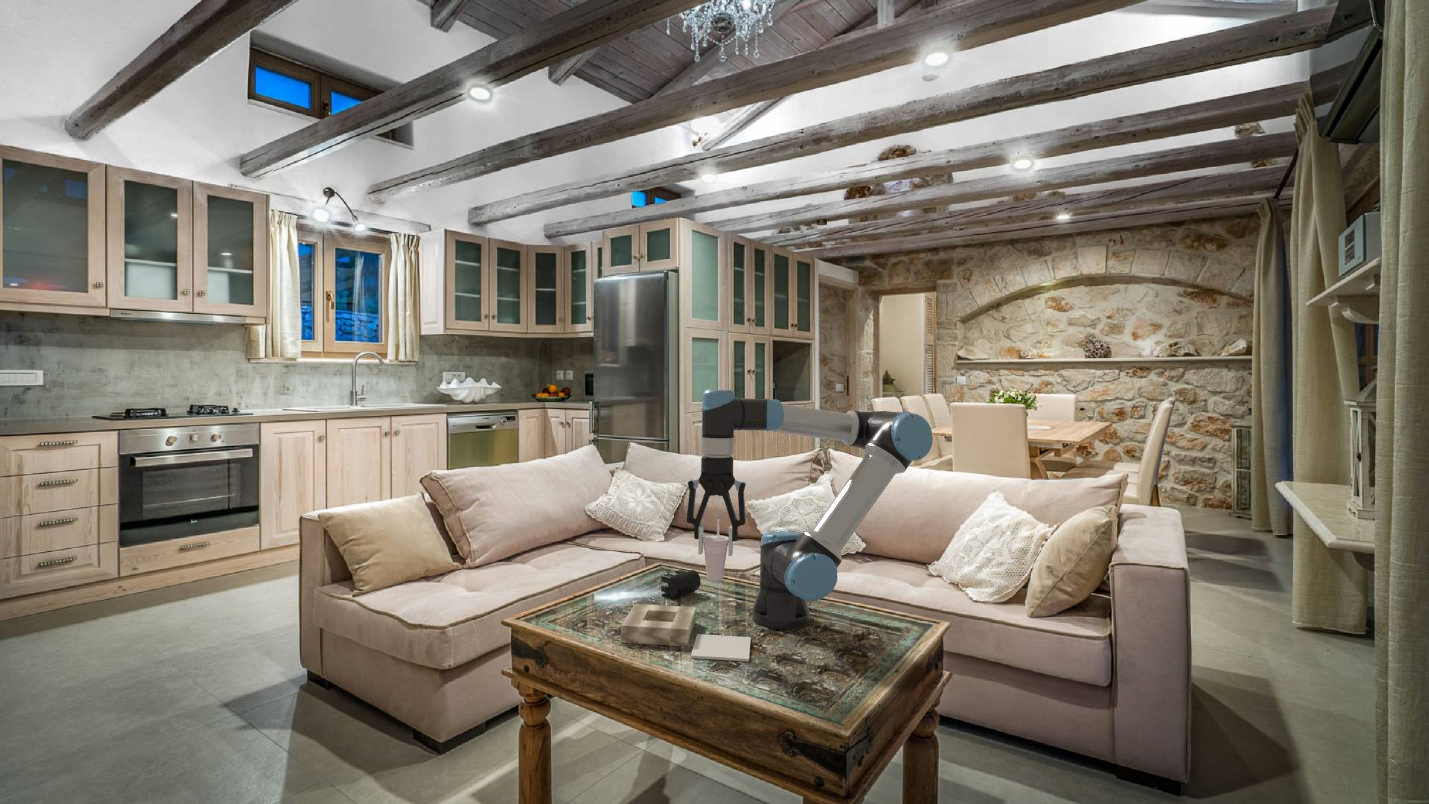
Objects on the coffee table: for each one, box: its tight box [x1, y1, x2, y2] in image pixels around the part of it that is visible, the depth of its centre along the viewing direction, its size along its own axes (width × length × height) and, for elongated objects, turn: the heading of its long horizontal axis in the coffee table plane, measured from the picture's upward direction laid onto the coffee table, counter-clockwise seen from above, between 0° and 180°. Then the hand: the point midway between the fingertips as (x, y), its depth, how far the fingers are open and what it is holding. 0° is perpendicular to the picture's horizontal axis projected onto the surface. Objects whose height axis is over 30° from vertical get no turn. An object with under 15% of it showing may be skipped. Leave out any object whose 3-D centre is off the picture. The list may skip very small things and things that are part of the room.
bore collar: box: [620, 603, 697, 647], centre depth 161 cm, size 16×16×4 cm
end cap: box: [660, 569, 702, 600], centre depth 191 cm, size 10×7×7 cm
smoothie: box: [702, 518, 729, 582], centre depth 153 cm, size 6×6×14 cm
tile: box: [690, 633, 751, 663], centre depth 152 cm, size 13×13×1 cm
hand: (715, 553), depth 153 cm, fingers closed on smoothie, 6 cm apart
